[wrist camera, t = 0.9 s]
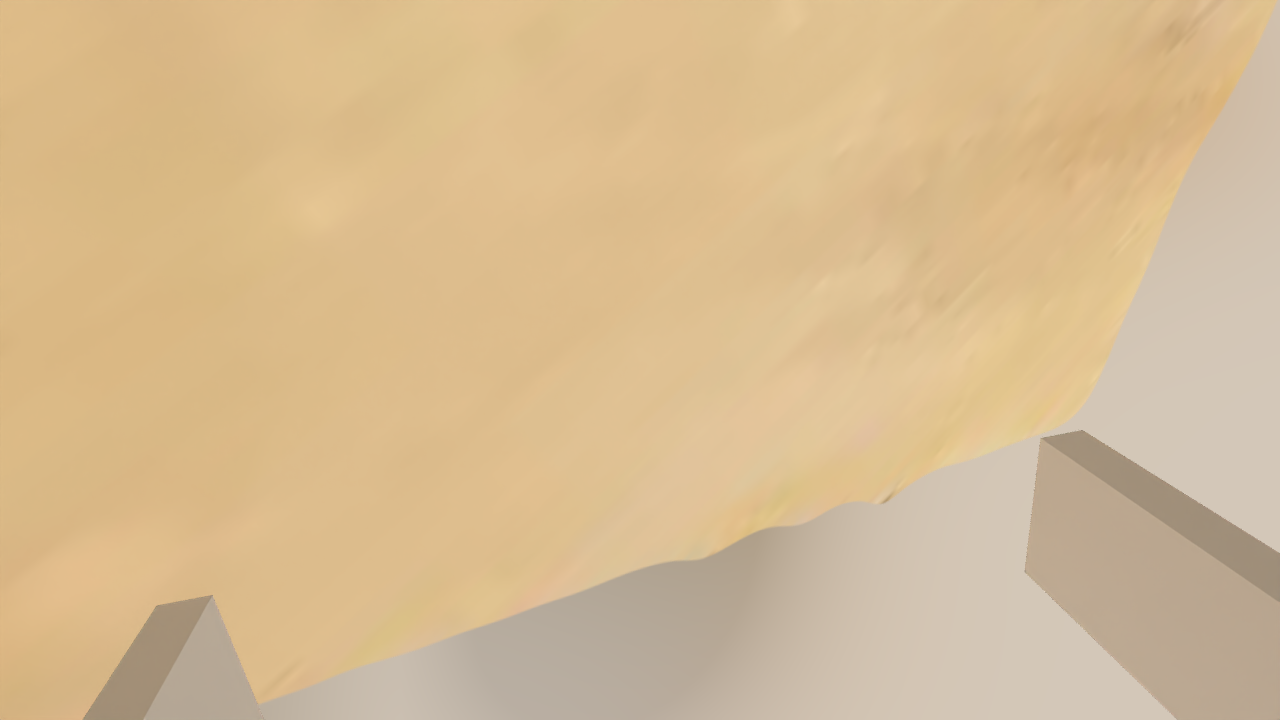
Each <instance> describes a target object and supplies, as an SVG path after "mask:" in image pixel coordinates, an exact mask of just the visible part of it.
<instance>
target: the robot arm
mask: <svg viewBox="0 0 1280 720" xmlns="http://www.w3.org/2000/svg"><path fill="white" fill-rule="evenodd" d="M1025 573H1026V574H1027V575H1028V576H1029V577H1031V579H1032V580H1033V581H1035V582H1036V583H1037V584H1038V585H1039V586H1040V587H1041V588H1042V589H1043V590H1044V591H1045V592H1046V593H1047V594H1048V595H1049V596H1050V597H1051V598H1052V599H1053V600H1054V601H1055V602H1056V603H1057V604H1058V605H1059V606H1060V607H1061V608H1062V609H1063V610H1065V611H1066V612H1067V613H1068V614H1069V615H1070V616H1071V617H1072V618H1073V619H1074V620H1075V621H1076V622H1077V623H1078V624H1079V625H1080V626H1081V627H1082V628H1083V629H1084V630H1085V631H1086V632H1087V633H1088V634H1089V635H1090V636H1091V637H1092V638H1093V639H1094V640H1096V641H1097V642H1098V643H1099V644H1100V645H1101V646H1102V647H1103V648H1104V649H1105V650H1106V651H1107V652H1108V653H1109V654H1110V655H1111V656H1112V657H1113V658H1114V659H1115V660H1116V661H1117V662H1118V663H1119V664H1120V665H1121V666H1122V667H1123V668H1125V669H1126V670H1127V671H1128V672H1129V673H1130V674H1131V675H1132V676H1133V677H1134V678H1135V679H1136V680H1137V681H1138V682H1139V683H1140V684H1141V685H1142V686H1143V687H1144V688H1145V689H1146V690H1147V691H1148V692H1149V693H1151V695H1152V696H1154V697H1155V699H1157V700H1158V701H1159V702H1160V703H1161V704H1162V705H1163V706H1164V707H1165V708H1166V709H1167V710H1168V711H1169V712H1170V713H1171V714H1172V715H1173V716H1174V717H1175V718H1176V719H1177V720H1280V553H1278V552H1277V551H1275V550H1274V549H1272V548H1270V547H1269V546H1267V545H1265V544H1264V543H1262V542H1261V541H1259V540H1257V539H1256V538H1254V537H1253V536H1251V535H1250V534H1248V533H1246V532H1245V531H1243V530H1242V529H1240V528H1238V527H1237V526H1235V525H1233V524H1232V523H1230V522H1229V521H1227V520H1226V519H1224V518H1222V517H1221V516H1219V515H1218V514H1216V513H1214V512H1213V511H1211V510H1209V509H1208V508H1206V507H1205V506H1203V505H1202V504H1200V503H1198V502H1197V501H1195V500H1194V499H1192V498H1190V497H1189V496H1187V495H1185V494H1184V493H1182V492H1181V491H1179V490H1177V489H1176V488H1174V487H1173V486H1171V485H1169V484H1168V483H1166V482H1165V481H1163V480H1161V479H1160V478H1158V477H1157V476H1155V475H1153V474H1152V473H1150V472H1149V471H1147V470H1145V469H1144V468H1142V467H1141V466H1139V465H1137V464H1136V463H1134V462H1133V461H1131V460H1129V459H1128V458H1126V457H1125V456H1123V455H1121V454H1120V453H1118V452H1117V451H1115V450H1113V449H1111V448H1110V447H1108V446H1107V445H1105V444H1104V443H1102V442H1101V441H1099V440H1097V439H1096V438H1094V437H1093V436H1091V435H1089V434H1088V433H1086V432H1085V431H1083V430H1081V431H1076V432H1070V433H1065V434H1060V435H1055V436H1050V437H1044V438H1041V440H1040V448H1039V456H1038V464H1037V473H1036V481H1035V490H1034V498H1033V506H1032V514H1031V523H1030V532H1029V540H1028V548H1027V556H1026V564H1025ZM83 720H264V719H263V716H262V713H261V711H260V709H259V706H258V704H257V701H256V699H255V697H254V694H253V692H252V689H251V687H250V685H249V682H248V680H247V677H246V675H245V673H244V670H243V668H242V665H241V663H240V660H239V658H238V656H237V653H236V651H235V648H234V646H233V644H232V641H231V639H230V636H229V634H228V632H227V629H226V627H225V624H224V622H223V619H222V617H221V615H220V612H219V610H218V607H217V605H216V603H215V600H214V598H213V595H211V596H206V597H200V598H195V599H190V600H184V601H179V602H174V603H169V604H163V605H158V606H156V608H155V609H154V611H153V612H152V614H151V615H150V617H149V618H148V620H147V621H146V623H145V624H144V626H143V628H142V629H141V631H140V632H139V634H138V635H137V637H136V638H135V640H134V641H133V643H132V644H131V646H130V648H129V649H128V651H127V652H126V654H125V655H124V657H123V658H122V660H121V661H120V663H119V665H118V666H117V668H116V669H115V671H114V672H113V674H112V675H111V677H110V678H109V680H108V681H107V683H106V685H105V686H104V688H103V689H102V691H101V692H100V694H99V695H98V697H97V698H96V700H95V702H94V703H93V705H92V706H91V708H90V709H89V711H88V712H87V714H86V715H85V717H84V718H83Z"/></svg>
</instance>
